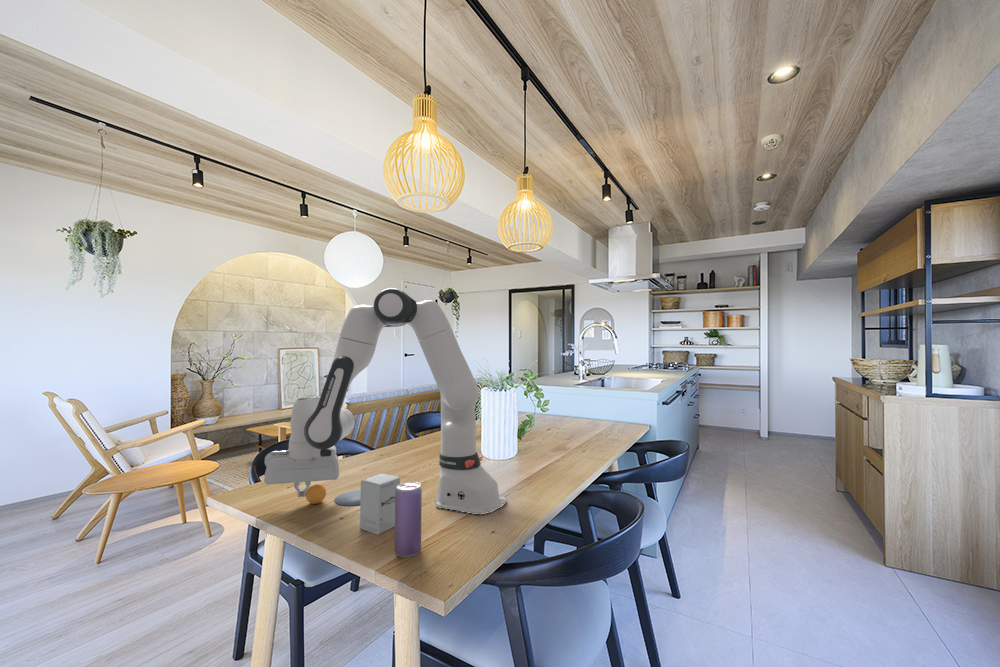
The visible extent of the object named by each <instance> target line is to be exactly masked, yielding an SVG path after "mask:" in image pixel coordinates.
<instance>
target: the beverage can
mask: <svg viewBox="0 0 1000 667" xmlns="http://www.w3.org/2000/svg"><path fill="white" fill-rule="evenodd" d="M422 491H423V490H422V485H421V483H420V482H417V481H407V482H406V481H405V482H400V484H398V485H397V486H396V491H395V527H394V553H395V554H396V555H397V557H399V558H411V557H415V556H416V555H418V554H419V553H420V551H421V549H422V506H423V505H422V504H423V503H422V500H423V498H422V493H423V492H422Z"/></svg>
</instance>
